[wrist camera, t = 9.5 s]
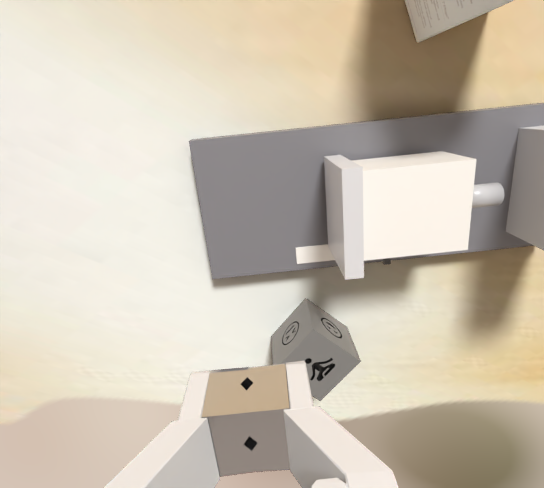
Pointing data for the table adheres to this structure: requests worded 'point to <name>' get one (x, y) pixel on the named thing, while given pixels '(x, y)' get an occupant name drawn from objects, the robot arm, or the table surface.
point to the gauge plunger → (401, 206)
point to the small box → (445, 14)
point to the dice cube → (315, 347)
